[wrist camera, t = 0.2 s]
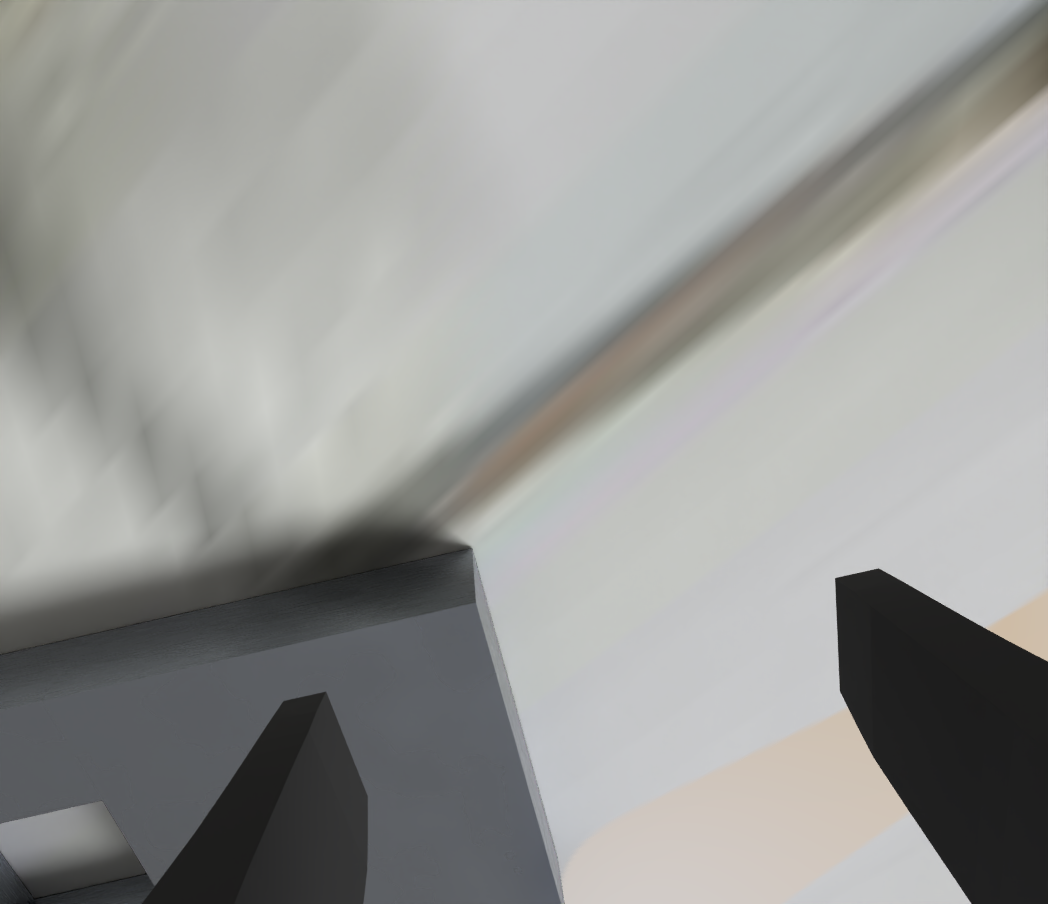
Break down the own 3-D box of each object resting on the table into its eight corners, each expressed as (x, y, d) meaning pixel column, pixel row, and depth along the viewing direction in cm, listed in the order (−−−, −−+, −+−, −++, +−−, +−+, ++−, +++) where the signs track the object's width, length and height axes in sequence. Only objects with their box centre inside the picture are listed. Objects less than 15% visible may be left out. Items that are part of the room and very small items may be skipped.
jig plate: (557, 858, 26) (568, 929, 24) (11, 981, 26) (-27, 1062, 24) (472, 548, 21) (476, 603, 19) (-208, 702, 21) (-282, 774, 19)
